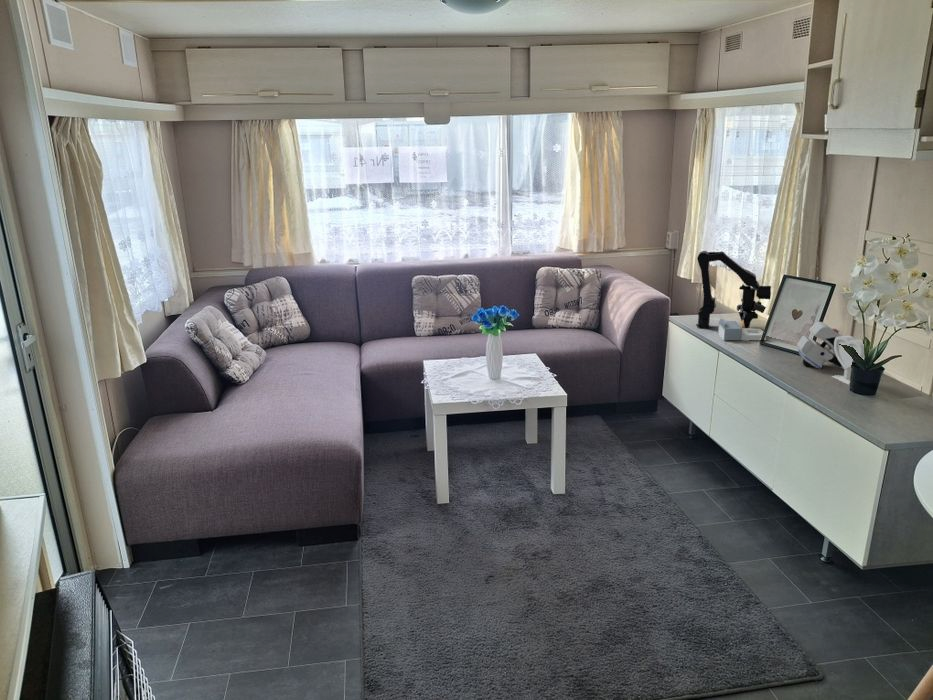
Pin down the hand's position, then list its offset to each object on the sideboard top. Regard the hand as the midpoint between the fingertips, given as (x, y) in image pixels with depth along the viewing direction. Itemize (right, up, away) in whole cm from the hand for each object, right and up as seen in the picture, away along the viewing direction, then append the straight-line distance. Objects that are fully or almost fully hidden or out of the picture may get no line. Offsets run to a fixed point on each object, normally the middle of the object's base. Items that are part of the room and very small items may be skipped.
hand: (745, 327), depth 365 cm
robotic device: (+11, -19, -56) cm, 60 cm away
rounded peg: (0, -1, 0) cm, 1 cm away
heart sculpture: (+13, -24, -73) cm, 78 cm away
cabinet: (-13, -5, -12) cm, 18 cm away
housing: (-7, -5, -12) cm, 15 cm away
